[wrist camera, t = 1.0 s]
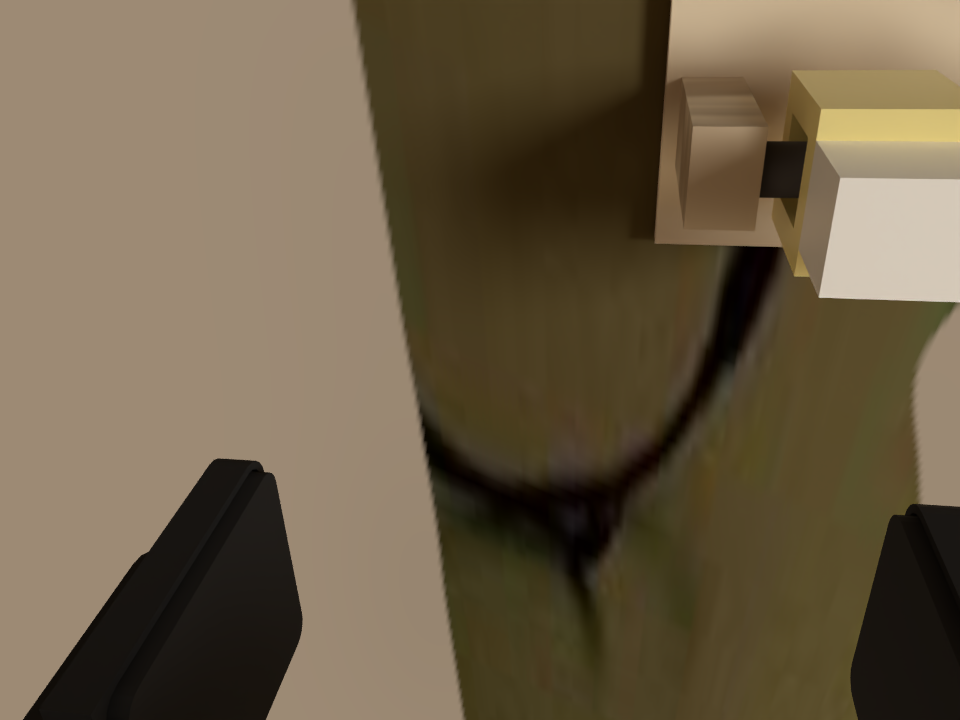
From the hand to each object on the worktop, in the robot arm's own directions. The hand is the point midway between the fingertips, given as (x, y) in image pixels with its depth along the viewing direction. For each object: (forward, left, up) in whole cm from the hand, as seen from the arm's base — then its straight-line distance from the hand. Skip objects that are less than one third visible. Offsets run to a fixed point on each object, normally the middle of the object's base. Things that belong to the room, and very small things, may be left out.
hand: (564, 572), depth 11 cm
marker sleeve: (0, +7, -19) cm, 21 cm away
